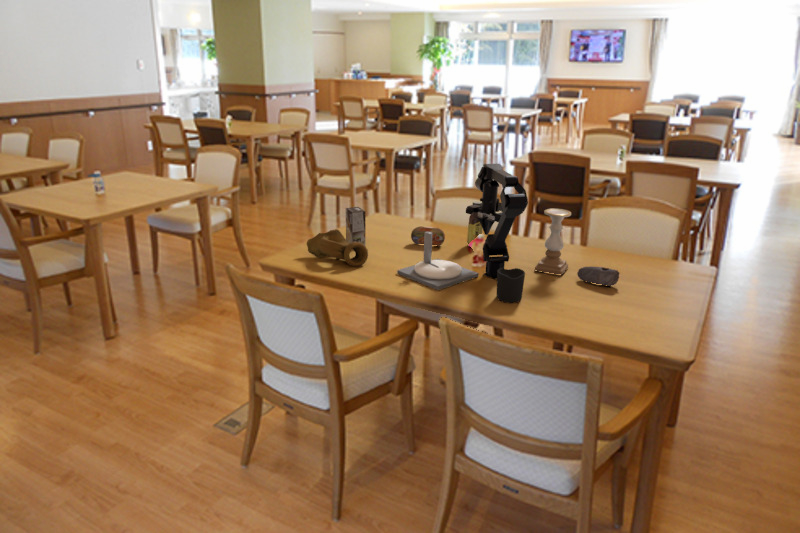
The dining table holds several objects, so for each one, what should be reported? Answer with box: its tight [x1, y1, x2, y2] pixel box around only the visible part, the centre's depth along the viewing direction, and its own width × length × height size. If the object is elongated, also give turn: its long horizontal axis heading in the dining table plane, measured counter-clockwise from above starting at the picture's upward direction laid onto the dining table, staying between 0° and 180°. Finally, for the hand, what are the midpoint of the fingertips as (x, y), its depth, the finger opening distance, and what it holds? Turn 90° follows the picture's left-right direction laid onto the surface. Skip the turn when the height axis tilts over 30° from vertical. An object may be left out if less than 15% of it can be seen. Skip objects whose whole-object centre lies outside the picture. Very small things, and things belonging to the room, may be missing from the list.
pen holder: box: [496, 268, 526, 304], centre depth 207 cm, size 9×9×10 cm
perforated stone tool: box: [576, 266, 620, 287], centre depth 223 cm, size 15×5×7 cm, turn 54°
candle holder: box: [534, 208, 572, 276], centre depth 234 cm, size 11×11×24 cm
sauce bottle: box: [466, 201, 483, 244], centre depth 262 cm, size 7×6×20 cm
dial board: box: [396, 258, 479, 291], centre depth 229 cm, size 22×22×2 cm
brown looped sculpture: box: [306, 228, 369, 268], centre depth 242 cm, size 18×13×22 cm
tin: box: [410, 226, 446, 247], centre depth 264 cm, size 15×3×8 cm, turn 73°
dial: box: [414, 232, 462, 280], centre depth 226 cm, size 18×18×14 cm
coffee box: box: [345, 206, 367, 246], centre depth 261 cm, size 9×6×16 cm
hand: (486, 234), depth 237 cm, fingers closed
